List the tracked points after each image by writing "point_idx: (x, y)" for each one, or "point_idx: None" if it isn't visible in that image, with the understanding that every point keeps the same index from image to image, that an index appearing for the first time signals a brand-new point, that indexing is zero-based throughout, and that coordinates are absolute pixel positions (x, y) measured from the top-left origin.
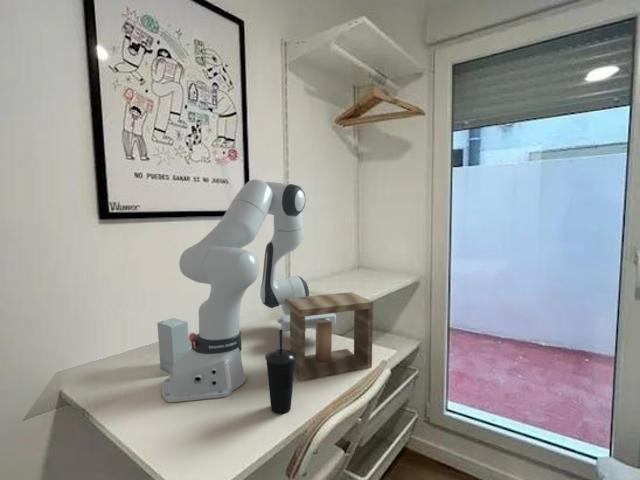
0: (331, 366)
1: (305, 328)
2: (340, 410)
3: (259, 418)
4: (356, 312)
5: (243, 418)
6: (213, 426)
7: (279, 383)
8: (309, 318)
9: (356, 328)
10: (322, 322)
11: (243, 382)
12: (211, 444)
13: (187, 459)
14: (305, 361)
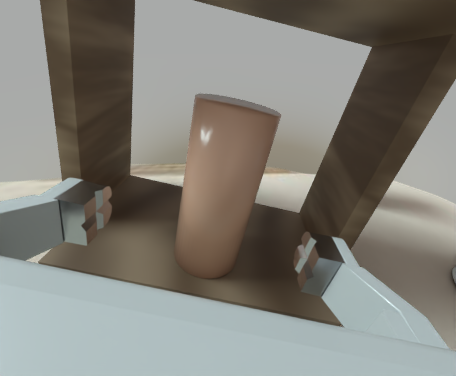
0: None
1: (302, 240)
2: None
3: None
4: (82, 13)
5: (393, 206)
6: (429, 213)
7: None
8: (221, 306)
9: (89, 102)
10: (248, 106)
11: (454, 275)
12: (412, 197)
13: (425, 196)
14: (279, 267)
